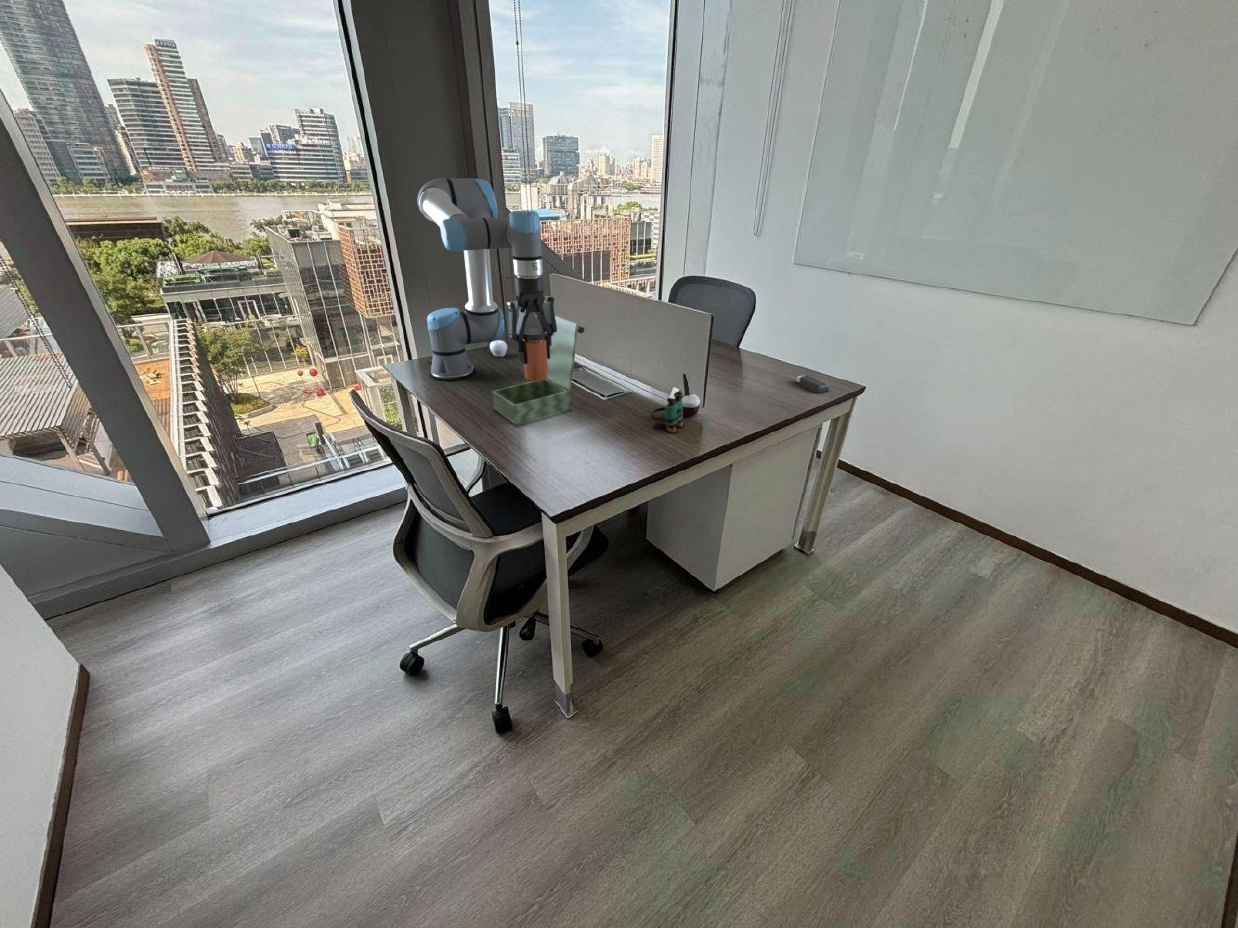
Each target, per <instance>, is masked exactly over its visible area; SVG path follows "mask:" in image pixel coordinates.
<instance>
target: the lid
mask: <svg viewBox="0 0 1238 928" xmlns="http://www.w3.org/2000/svg"><path fill="white" fill-rule="evenodd" d="M555 319H556V326H557V332H554V333H553V336H551V341H552V345H551V346H550V359H547V361H548V378H547V379H548V380H550V381H552V382H554V383H556V384H557V385H559V386H561V387H563V388H565V389H566V390H568V391H570V390H572V382H573V374H574V373H573V372H574V365H575V364H574V363H575V355H576V347H577V338H578V333H579V334H583V333H585V327H583V326H581V325H579V323H577V322H574V321H571V320H569V319H566V318H563V317H561V316H558V315H556V314H555Z"/></svg>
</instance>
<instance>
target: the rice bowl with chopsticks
mask: <svg viewBox="0 0 1238 928" xmlns="http://www.w3.org/2000/svg"><path fill="white" fill-rule="evenodd" d="M682 380H683V382H682V383H683V392H684V396H683V397H682V398H681V399H682V408H683V417H684V416H685V417H688V418H690V417H694V416H697V414H698V413H699V410H700V404H701V403H700V402H701V400H700V398H699V396H697V394H695V393H693V394H691V393H690V385H689V386H688V381H689V380H688V381H687V378H686V375H685V373H683V374H682Z"/></svg>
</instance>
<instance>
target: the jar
mask: <svg viewBox="0 0 1238 928" xmlns="http://www.w3.org/2000/svg"><path fill="white" fill-rule="evenodd" d="M522 340H524V341H525V347H526V358H527V364H523V363H522V366H523V377H524V379H525V380H527V381H529V382H531V381H541V380H545V379H548V361H547V345H546V339H545V331H544V330H543V329H542V328H527V329H525V330H524V334H523V338H522Z"/></svg>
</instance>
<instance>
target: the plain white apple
mask: <svg viewBox="0 0 1238 928" xmlns="http://www.w3.org/2000/svg"><path fill="white" fill-rule="evenodd" d="M489 349H490V352H491V353H492V355H493V356H495V357H496V358H503V357H505V356H506V353H507V351H508V344H507V342H505V341H504V340H501V339H499V340H494V341H491V342H490V344H489Z"/></svg>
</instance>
